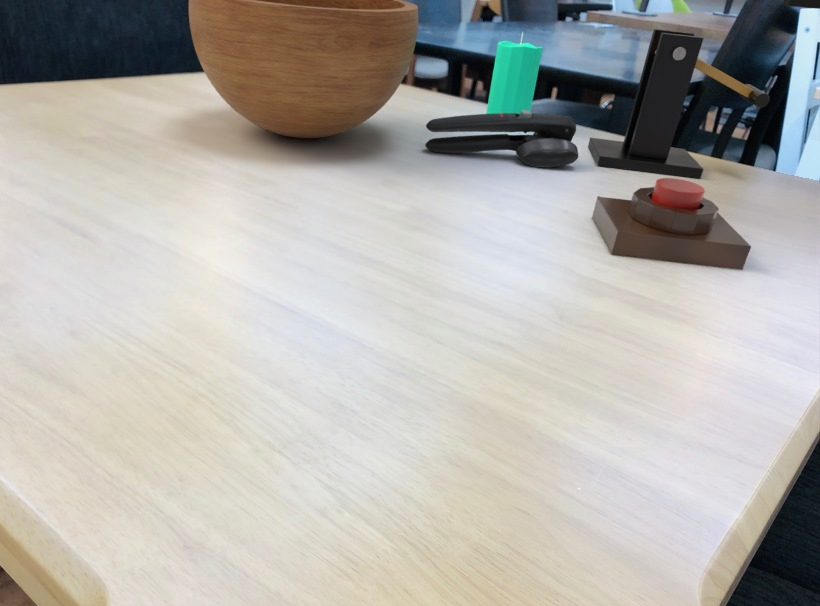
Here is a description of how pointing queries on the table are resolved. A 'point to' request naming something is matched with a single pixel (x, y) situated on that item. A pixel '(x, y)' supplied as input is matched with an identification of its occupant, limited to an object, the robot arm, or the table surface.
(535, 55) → the candle
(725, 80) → the lever
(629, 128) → the bracket
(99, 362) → the table surface
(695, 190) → the button
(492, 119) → the can opener
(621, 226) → the button block
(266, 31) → the bowl
